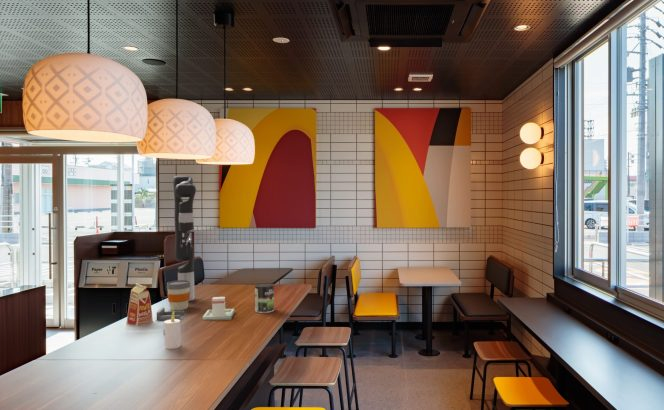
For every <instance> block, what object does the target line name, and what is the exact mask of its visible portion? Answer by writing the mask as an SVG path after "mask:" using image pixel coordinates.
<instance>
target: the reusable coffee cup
mask: <svg viewBox="0 0 664 410" xmlns="http://www.w3.org/2000/svg"><path fill="white" fill-rule="evenodd" d="M166 290H167V300H168V303H169V307H170V311H184V310H186V309H188V308H189V307H188V305H189V301H188V300H189V298H190V281H188V280H178V279H177V280H172V281H167V283H166Z"/></svg>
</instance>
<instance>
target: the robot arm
mask: <svg viewBox="0 0 664 410" xmlns="http://www.w3.org/2000/svg"><path fill="white" fill-rule="evenodd" d="M172 180H173V181H172V183H173V184H172V185H173V196H174V197H173V198H174V231H175V233H174V234H175V235H174V236H175V238H174V239H175V240H174V258H175V260H176V261H177V262H184V261H185V262H186V263H184V264H183V265H181V266H178V268H177V281H178V280H188V281H190V298H189V300H188V302H192V301H194V300H195V267H194V266H195V263H194V261H195V260H194V259H195V250H194V249H195V248H194V246H193V245H192V242H193V236H192V235H193V230H194V229H195V228H194V225H195V224H194V223H195V222H194V199H195V196H196V192H197V188H196V186H195V184H194V182H193V178H192V177H191V176H189V175H175V176H174V177H173V179H172ZM183 198H188V200H186V201H184V200H183Z"/></svg>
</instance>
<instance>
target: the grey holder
mask: <svg viewBox="0 0 664 410" xmlns="http://www.w3.org/2000/svg"><path fill="white" fill-rule="evenodd" d="M173 311H175V317H174V319H179V320H180V321H182V320H184V318H186V316H187V315H188V314H187V313H185V310H170V311H169V310H168V311H167V310H166V309H165V307H161V308H160V309H159V310H158V311H157V312H156V320H155V321H156V322H160V321H161V322H164V321H166V320H170V319H171V316H172V313H173Z"/></svg>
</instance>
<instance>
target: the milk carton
mask: <svg viewBox="0 0 664 410" xmlns="http://www.w3.org/2000/svg"><path fill="white" fill-rule="evenodd" d="M147 288H148V286H145V285H141V284H140V283H137V282H136V283H135V286H133V288H131V290H130V294H129V295H130V296H129V303H128V310H127V317H126V323H125V324H126V325H130V326H131V325H132V326H135V327H137V326H142V325H146V324H148V323H151V322H153V311H152V303H151V295H150V292H149V290H148V289H147Z"/></svg>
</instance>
